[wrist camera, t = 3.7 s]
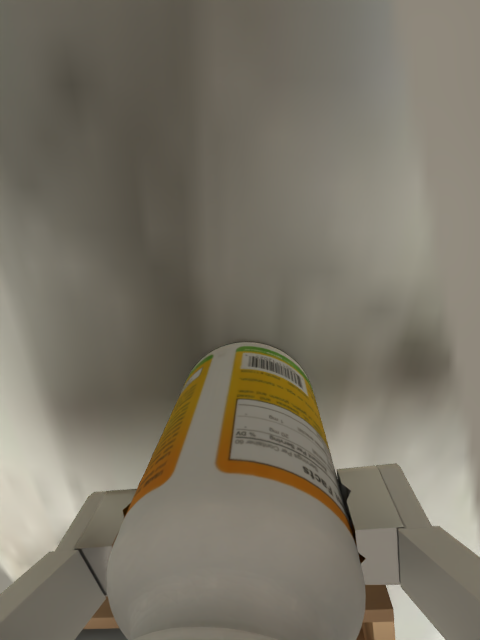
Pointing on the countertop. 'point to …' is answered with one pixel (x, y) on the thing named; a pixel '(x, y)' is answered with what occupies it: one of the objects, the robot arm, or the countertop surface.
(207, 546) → the supplement bottle
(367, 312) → the countertop surface
